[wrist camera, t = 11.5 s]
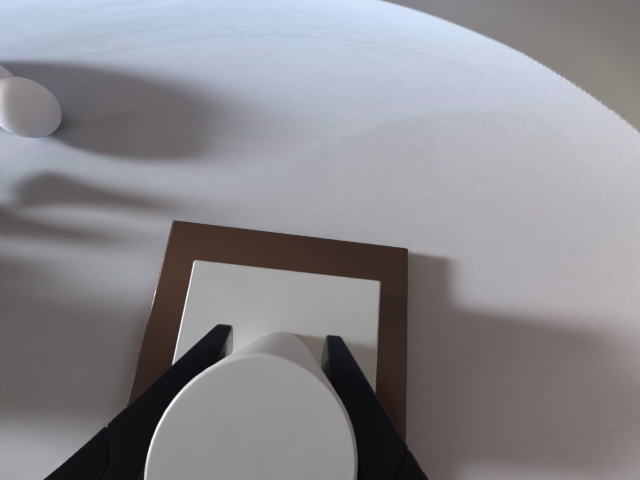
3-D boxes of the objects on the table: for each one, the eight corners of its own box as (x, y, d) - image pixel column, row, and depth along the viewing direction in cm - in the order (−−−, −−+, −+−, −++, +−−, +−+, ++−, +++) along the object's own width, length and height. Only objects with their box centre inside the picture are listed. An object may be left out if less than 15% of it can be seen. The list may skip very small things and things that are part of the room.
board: (397, 645, 12) (404, 666, 11) (77, 635, 11) (61, 658, 10) (402, 251, 17) (408, 248, 16) (177, 224, 16) (172, 219, 15)
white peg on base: (351, 454, 13) (548, 888, 3) (182, 442, 13) (-222, 909, 3) (361, 289, 15) (508, 228, 5) (214, 272, 14) (46, 168, 4)
